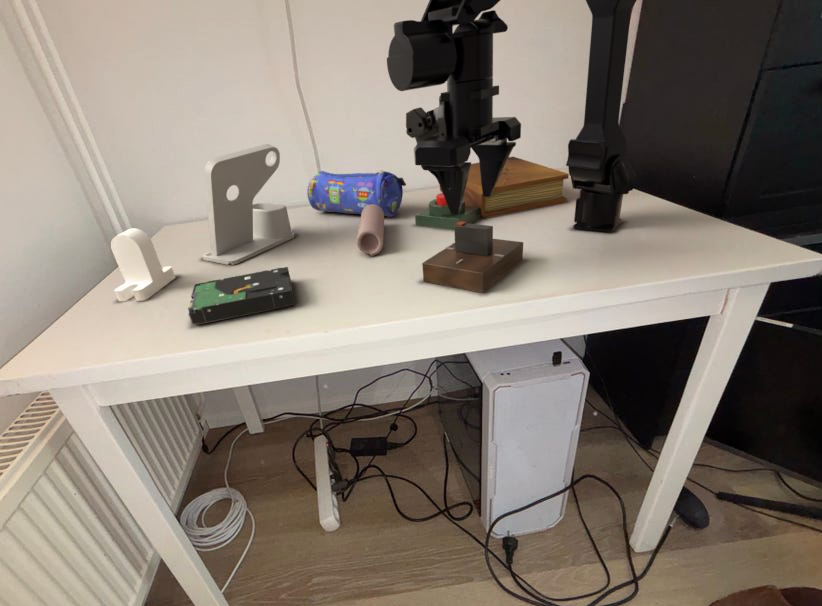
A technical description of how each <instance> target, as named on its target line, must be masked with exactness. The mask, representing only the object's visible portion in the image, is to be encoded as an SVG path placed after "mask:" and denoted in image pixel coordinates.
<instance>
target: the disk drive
mask: <svg viewBox="0 0 822 606" xmlns="http://www.w3.org/2000/svg"><path fill="white" fill-rule="evenodd" d="M190 298H191V299H190V301H189V306H188V307H187V310H188V317H189V319H190V321H191V324H192V325H201V324H208V323H213V322H217V321H223V320H228V319H232V318H237V317H242V316H246V315H247V316H248V315H251V314H257V313H262V312H268V311H272V310H277V309H282V308H286V307H289V306H291V305H292V306H293V305H295V298H294V292H293V286H292V280H291V276H290V271H289V267H288V266H284V267H277V268H273V269H268V270H262V271H256V272H251V273H247V274H242V275H235V276H230V277H224V278H219V279H214V280H208V281H205V282H204V281H203V282H199V283H194V285H193V289H192V292H191V295H190Z"/></svg>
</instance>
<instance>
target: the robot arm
mask: <svg viewBox="0 0 822 606" xmlns="http://www.w3.org/2000/svg"><path fill="white" fill-rule="evenodd" d="M500 1H501V0H429V1H428V3H427V6H426V7H425V10H424V12H423V15H422V17H421V19H420V21H418V20H413V19H408V20H401V21H397V22H394V24H393V32H394V36H393V37H392V39H391V40H390V43H389V47H388V55H387V57H386V67H387V73H388V76H389V79H390V82H391V84H392V85H393V87H394V88H395V89H396V90H397V91H398V92H405V91H412V90H417V89H423V88H430V87H435V86H441V85H443V84H445V83H446V91H444V92H443V91H442V92H440V95H439V96H438V106H437V107H435V108H433V109H431V110H428V111H425V110H424V109H423V107H416V108H413V109H411V110H409V111H407V112H406V113H405V128H406V129H405V132H406V135H407V136H408V137H410V139H411V138H412V139H415V142H416V145H415V146H414V148H413V157H414V159H413V160H414V165H415V166H420V168H421V169H422V170H423V171H427V172H429V173H431V175H433V176H434V177H435V179H436V180H437V183H438V185H439V188H440V187H441V189H442V192H443V195H444V197H445V200H446V202H447V205H448V208H449V210H450V213H451V214H452V215H458V214H459V212H460V208H461V205H462V201H463V197H464V192H465V188H466V184H467V179H468V175H469V171H470V167H471V164H472V162H471V161H469V158H470V156H471V153H472V151H473V152H474V154H475V155H476V156H477V158H478V163H479V164H480V174H481V184H482V191H483V196H484V197H490V196H491V195H492V192H493V190H494V188H495V186H496V183H497V181H498V179H499V177H500V174H501V172H502V170H503V168H504V166H505V164H506V162H507V159H508V157H510V155H511V153H512V151H513V149H514V148H515V147H516V145H517V142H516V141H517V140H519V139H521V137H522V123H521V122H520V121H519V119H518V118H517V117H516V116H503V117H502V116H501V117H494V116H493V115H494V113H493V112H494V110H493V109H494V103H493V102H494V97H495V96H499V95H500V85H499V84H498V85H494V34H500V33H506V32H508V30H509V29H508V28H509V27H508V24H507V23H506V22H505V20H503V19H502V18H500V17H499V15H498V14H497V11H496V10H495V9H493V8H494V7H495V6H496V5H497V4H499V2H500ZM585 2H586V5H587V7H588V9H589V11H590V13H591V29H590V44H589V54H588V68H587V78H586V79H587V80H586V90H585V91H586V93H585V103H584V104H585V105H584V116H583V124H582V125H583V126H582V128H581V129H580V131H579V133H578V134H577V136H576V138H571V139H570V140H569V141H568V144H567V152H568V153H567V154H568V155H567V160H566V164H565V166H566V167H568V174H569V176H570V180H571V186H572V189H573V190H579V197H578V198H576V199H575V207H574V218H573V222H574V224H573V226H572V229H574V230H583V231H594V232H604V233H612V232H613V231H614V230H616V228H617V227H619V225H620V224H621V223H622V222H623V218H621V214H622V213H621V212H622V211H621V210H622V206H623V205H622V204H623V198H624V195H628V194H629V192H631V191H633V190H634V188H635V185H636V182H637V179H638V175H637V174H636V172H635V170H634V169H633V167H632V166H631V164H630V162H629V161H628V141H627V138H626V137H625V134H624V131H623V130H622V128H621V125H620V123H619V122H620V121H619V120H620V113H621V111H620V110H621V103H622V95H623V86H624V77H625V68H626V60H627V51H628V41H629V33H630V24H631V17H632V10H633V7H634V6H635V4H636V2H637V0H585ZM491 9H492V10H491ZM480 14H481V15H480ZM479 15H480V16H479ZM478 17H479V18H478ZM477 18H478V19H477ZM454 26H456V28H455V29H454ZM471 149H472V151H471ZM442 192H441V193H442Z"/></svg>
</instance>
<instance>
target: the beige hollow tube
mask: <svg viewBox="0 0 822 606" xmlns="http://www.w3.org/2000/svg"><path fill="white" fill-rule="evenodd" d="M384 233H385V216H384V212H383V210H382V209H381V208H380V207H379V206H378V205H375V204H370V205H367V206H366V207H365V208H364V209H363V210H362V213H361V214H360V220H359V225H358V230H357V234H356V235H357V236H356V246H357V248H358V250H359V251H360V252H361V253H363V254H366V255H369V256H370V257H374V256H376V255H378V254H379V253H380V252H381V251H382V249H383V246H384V236H385V235H384Z"/></svg>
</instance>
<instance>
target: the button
mask: <svg viewBox="0 0 822 606" xmlns="http://www.w3.org/2000/svg"><path fill="white" fill-rule="evenodd" d="M435 199H436V201H437V205H447V202H446V200H445V197H444V195H443V193H442V192H440V193H437V194H436V196H435Z"/></svg>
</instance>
